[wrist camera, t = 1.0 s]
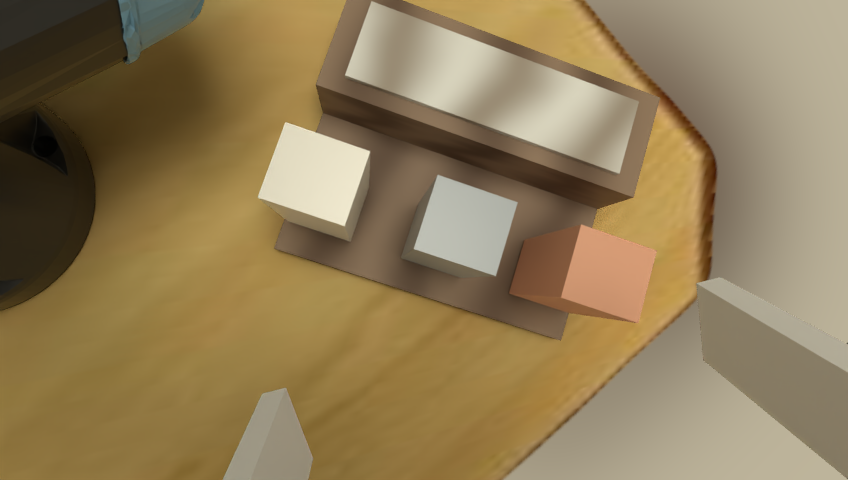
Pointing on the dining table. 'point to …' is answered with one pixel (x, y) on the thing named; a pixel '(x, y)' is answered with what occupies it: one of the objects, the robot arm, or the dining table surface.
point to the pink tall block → (585, 273)
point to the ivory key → (317, 181)
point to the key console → (468, 146)
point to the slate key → (459, 229)
